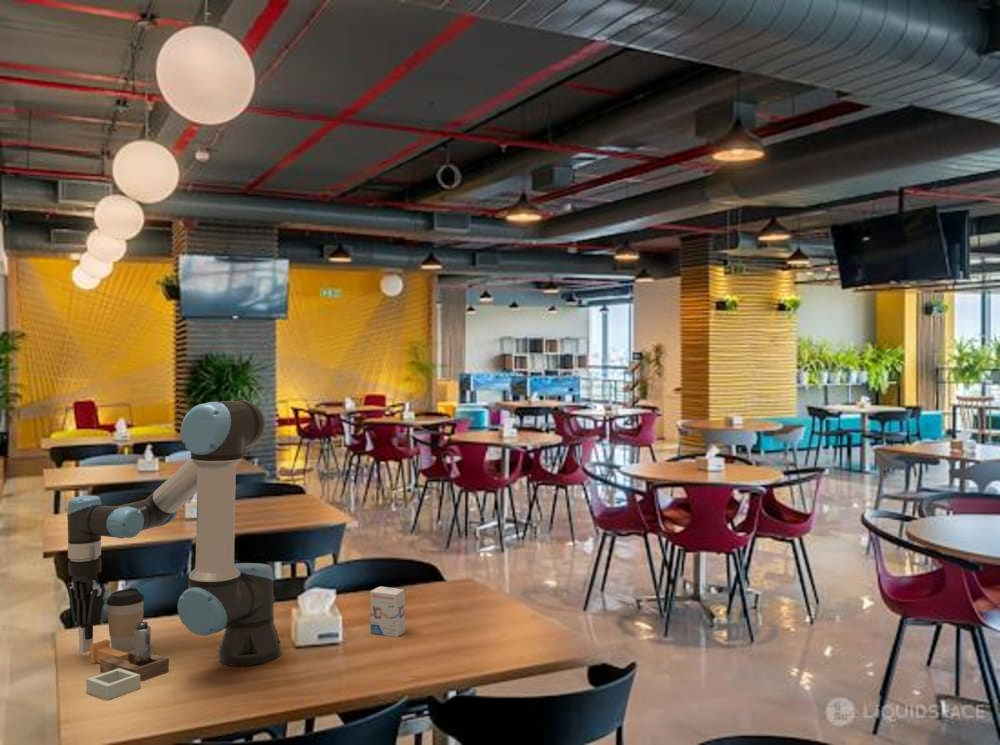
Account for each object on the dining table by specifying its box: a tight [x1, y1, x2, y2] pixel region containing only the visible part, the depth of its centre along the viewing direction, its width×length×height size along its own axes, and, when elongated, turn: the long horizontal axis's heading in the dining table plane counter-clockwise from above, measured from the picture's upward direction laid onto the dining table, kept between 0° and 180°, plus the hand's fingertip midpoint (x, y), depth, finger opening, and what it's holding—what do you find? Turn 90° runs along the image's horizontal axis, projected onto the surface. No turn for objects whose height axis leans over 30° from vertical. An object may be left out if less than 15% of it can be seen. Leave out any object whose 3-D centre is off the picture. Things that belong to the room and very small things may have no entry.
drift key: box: [89, 639, 129, 664], centre depth 206 cm, size 10×4×4 cm, turn 58°
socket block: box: [99, 649, 170, 682], centre depth 201 cm, size 14×9×3 cm, turn 58°
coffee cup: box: [105, 587, 145, 652], centre depth 217 cm, size 9×9×15 cm
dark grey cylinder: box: [134, 621, 152, 666], centre depth 199 cm, size 4×4×12 cm
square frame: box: [85, 668, 141, 701], centre depth 190 cm, size 8×8×3 cm
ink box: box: [369, 586, 406, 638], centre depth 229 cm, size 9×5×12 cm, turn 68°
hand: (86, 651), depth 212 cm, fingers closed
